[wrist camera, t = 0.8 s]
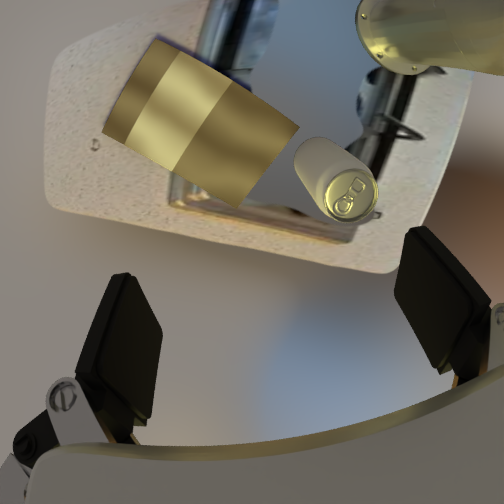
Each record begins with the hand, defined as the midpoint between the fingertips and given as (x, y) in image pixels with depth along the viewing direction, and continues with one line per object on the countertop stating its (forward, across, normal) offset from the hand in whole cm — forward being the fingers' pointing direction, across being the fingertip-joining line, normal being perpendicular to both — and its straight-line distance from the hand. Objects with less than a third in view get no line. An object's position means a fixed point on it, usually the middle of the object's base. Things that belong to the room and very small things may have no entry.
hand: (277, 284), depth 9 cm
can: (+28, -9, +5) cm, 30 cm away
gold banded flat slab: (+28, +5, -2) cm, 28 cm away
